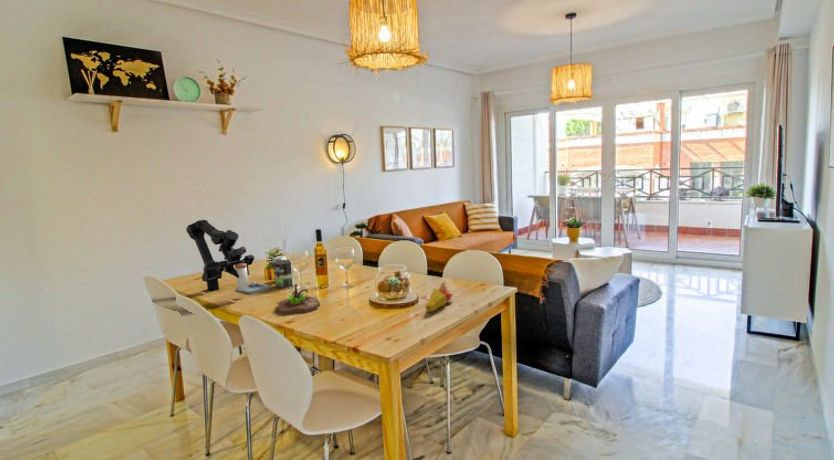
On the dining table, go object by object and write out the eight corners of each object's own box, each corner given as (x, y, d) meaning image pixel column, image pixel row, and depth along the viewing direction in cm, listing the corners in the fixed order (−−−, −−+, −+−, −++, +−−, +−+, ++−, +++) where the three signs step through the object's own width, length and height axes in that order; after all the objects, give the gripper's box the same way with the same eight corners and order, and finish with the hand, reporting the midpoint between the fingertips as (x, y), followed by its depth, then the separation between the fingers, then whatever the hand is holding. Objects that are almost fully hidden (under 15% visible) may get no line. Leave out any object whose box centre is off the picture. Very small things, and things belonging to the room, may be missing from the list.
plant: (320, 299, 227) (318, 277, 226) (320, 312, 208) (318, 288, 207) (277, 304, 224) (275, 281, 222) (273, 317, 205) (271, 292, 203)
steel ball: (250, 286, 253) (249, 281, 253) (255, 285, 255) (254, 280, 255) (253, 287, 251) (252, 282, 251) (258, 286, 254) (257, 280, 253)
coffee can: (287, 290, 245) (284, 264, 243) (271, 289, 249) (268, 263, 247) (298, 285, 255) (296, 260, 253) (283, 284, 259) (281, 259, 256)
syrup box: (284, 283, 260) (282, 258, 258) (274, 283, 261) (272, 258, 259) (289, 280, 265) (286, 255, 263) (279, 280, 267) (277, 256, 264)
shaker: (235, 289, 233) (232, 264, 231) (245, 286, 237) (242, 262, 235) (241, 290, 229) (238, 266, 227) (251, 287, 233) (248, 263, 232)
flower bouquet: (427, 323, 197) (444, 298, 219) (442, 316, 194) (457, 292, 216) (417, 307, 196) (434, 284, 219) (431, 300, 193) (448, 277, 215)
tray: (236, 291, 248) (235, 287, 247) (255, 286, 257) (255, 282, 257) (251, 295, 239) (250, 291, 239) (271, 289, 248) (270, 285, 248)
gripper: (216, 245, 225) (231, 270, 220) (250, 239, 239) (265, 262, 234) (209, 260, 231) (224, 284, 226) (243, 252, 245) (257, 275, 240)
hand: (243, 276), depth 231 cm, fingers closed on shaker, 5 cm apart
